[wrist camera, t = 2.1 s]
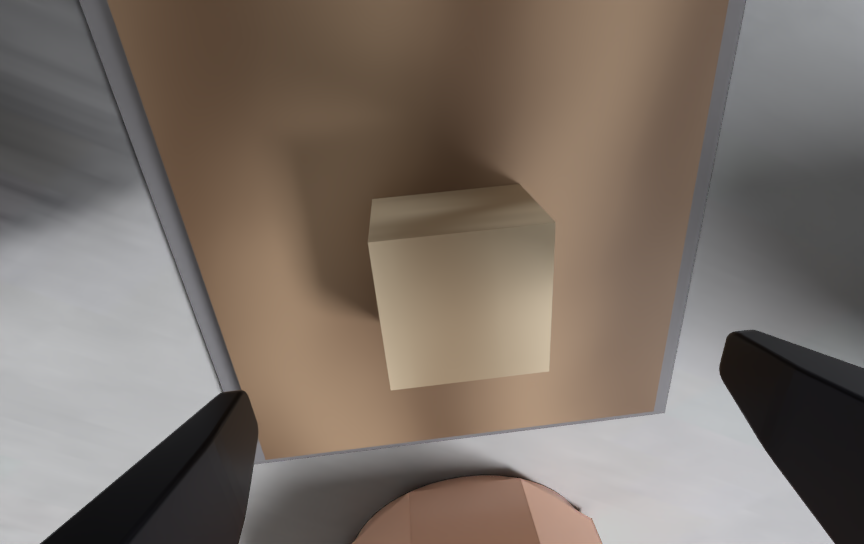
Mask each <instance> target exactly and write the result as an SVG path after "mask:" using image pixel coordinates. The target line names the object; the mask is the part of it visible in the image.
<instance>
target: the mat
mask: <svg viewBox="0 0 864 544" xmlns="http://www.w3.org/2000/svg"><path fill="white" fill-rule="evenodd" d="M79 2H80V5H81V7H82V10H83V13H84V15H85V18H86V21H87V23H88V26H89V29H90V32H91V34H92V37H93V40H94V42H95V45H96V48H97V51H98V53H99V56H100V59H101V61H102V64H103V67H104V70H105V72H106V75H107V78H108V80H109V83H110V86H111V89H112V91H113V94H114V97H115V99H116V102H117V105H118V107H119V110H120V113H121V116H122V118H123V121H124V124H125V126H126V129H127V132H128V135H129V137H130V140H131V143H132V145H133V148H134V151H135V154H136V156H137V159H138V162H139V164H140V167H141V170H142V173H143V175H144V178H145V181H146V183H147V186H148V189H149V191H150V194H151V197H152V200H153V202H154V205H155V208H156V210H157V213H158V216H159V219H160V221H161V224H162V227H163V229H164V232H165V235H166V238H167V240H168V243H169V246H170V248H171V251H172V254H173V257H174V259H175V262H176V265H177V267H178V270H179V273H180V276H181V278H182V281H183V284H184V286H185V289H186V292H187V294H188V297H189V300H190V303H191V305H192V308H193V311H194V313H195V316H196V319H197V322H198V324H199V327H200V330H201V332H202V335H203V338H204V341H205V343H206V346H207V349H208V351H209V354H210V357H211V360H212V362H213V365H214V368H215V370H216V373H217V376H218V378H219V381H220V384H221V387H222V389H223V392H227V391H235V390H241V387H240V384H239V381H238V378H237V376H236V373H235V370H234V367H233V364H232V361H231V358H230V355H229V352H228V350H227V347H226V344H225V341H224V338H223V335H222V332H221V329H220V326H219V323H218V321H217V318H216V315H215V312H214V309H213V306H212V303H211V300H210V297H209V294H208V292H207V289H206V286H205V283H204V280H203V277H202V274H201V271H200V268H199V265H198V263H197V260H196V257H195V254H194V251H193V248H192V245H191V242H190V239H189V237H188V234H187V231H186V228H185V225H184V222H183V219H182V216H181V213H180V210H179V208H178V205H177V202H176V199H175V196H174V193H173V190H172V187H171V184H170V181H169V179H168V176H167V173H166V170H165V167H164V164H163V161H162V158H161V155H160V153H159V150H158V147H157V144H156V141H155V138H154V135H153V132H152V129H151V126H150V124H149V121H148V118H147V115H146V112H145V109H144V106H143V103H142V100H141V97H140V95H139V92H138V89H137V86H136V83H135V80H134V77H133V74H132V71H131V69H130V66H129V63H128V60H127V57H126V54H125V51H124V48H123V45H122V42H121V40H120V37H119V34H118V31H117V28H116V25H115V22H114V19H113V16H112V13H111V11H110V8H109V5H108V2H107V0H79ZM745 3H746V0H729V3H728V8H727V14H726V19H725V25H724V30H723V36H722V41H721V46H720V52H719V57H718V63H717V68H716V74H715V79H714V85H713V90H712V96H711V101H710V107H709V112H708V118H707V123H706V128H705V134H704V139H703V145H702V150H701V156H700V161H699V167H698V172H697V178H696V183H695V189H694V194H693V199H692V205H691V210H690V216H689V221H688V227H687V232H686V238H685V243H684V249H683V254H682V260H681V265H680V271H679V276H678V281H677V287H676V292H675V298H674V303H673V309H672V314H671V320H670V325H669V331H668V336H667V342H666V347H665V352H664V358H663V363H662V369H661V374H660V380H659V385H658V391H657V396H656V402H655V407H654V411H653V412H645V413H637V414H629V415H621V416H613V417H605V418H597V419H589V420H581V421H573V422H565V423H557V424H549V425H541V426H533V427H525V428H517V429H509V430H501V431H493V432H485V433H477V434H469V435H461V436H453V437H445V438H437V439H429V440H421V441H413V442H405V443H397V444H389V445H381V446H373V447H365V448H357V449H349V450H341V451H333V452H325V453H317V454H309V455H301V456H294V457H286V458H278V459H270V460H265V457H264V454H263V451H262V448H261V445H260V442H259V439H258V442H257V448H256V454H255V460H254V464H261V463H269V462H277V461H285V460H293V459H301V458H309V457H317V456H325V455H333V454H341V453H349V452H357V451H365V450H373V449H381V448H389V447H397V446H405V445H413V444H421V443H429V442H437V441H445V440H453V439H461V438H469V437H477V436H485V435H493V434H501V433H509V432H517V431H525V430H533V429H540V428H548V427H556V426H564V425H572V424H580V423H588V422H596V421H604V420H612V419H620V418H628V417H636V416H644V415H652V414H660V413H665V408H666V403H667V398H668V393H669V388H670V383H671V378H672V373H673V368H674V363H675V358H676V353H677V348H678V342H679V337H680V332H681V327H682V322H683V317H684V312H685V307H686V302H687V297H688V292H689V287H690V282H691V277H692V272H693V267H694V261H695V256H696V251H697V246H698V241H699V236H700V231H701V226H702V221H703V216H704V211H705V206H706V201H707V196H708V191H709V186H710V180H711V175H712V170H713V165H714V160H715V155H716V150H717V145H718V140H719V135H720V130H721V125H722V120H723V115H724V110H725V105H726V100H727V94H728V89H729V84H730V79H731V74H732V69H733V64H734V59H735V54H736V49H737V44H738V39H739V34H740V29H741V24H742V19H743V13H744V8H745Z"/></svg>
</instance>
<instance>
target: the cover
mask: <svg viewBox="0 0 864 544" xmlns="http://www.w3.org/2000/svg"><path fill="white" fill-rule="evenodd" d="M107 2H108V5H109V8H110V11H111V13H112V16H113V19H114V22H115V25H116V28H117V31H118V34H119V37H120V40H121V42H122V45H123V48H124V51H125V54H126V57H127V60H128V63H129V66H130V69H131V71H132V74H133V77H134V80H135V83H136V86H137V89H138V92H139V95H140V97H141V100H142V103H143V106H144V109H145V112H146V115H147V118H148V121H149V124H150V126H151V129H152V132H153V135H154V138H155V141H156V144H157V147H158V150H159V153H160V155H161V158H162V161H163V164H164V167H165V170H166V173H167V176H168V179H169V181H170V184H171V187H172V190H173V193H174V196H175V199H176V202H177V205H178V208H179V210H180V213H181V216H182V219H183V222H184V225H185V228H186V231H187V234H188V237H189V239H190V242H191V245H192V248H193V251H194V254H195V257H196V260H197V263H198V265H199V268H200V271H201V274H202V277H203V280H204V283H205V286H206V289H207V292H208V294H209V297H210V300H211V303H212V306H213V309H214V312H215V315H216V318H217V321H218V323H219V326H220V329H221V332H222V335H223V338H224V341H225V344H226V347H227V350H228V352H229V355H230V358H231V361H232V364H233V367H234V370H235V373H236V376H237V378H238V381H239V384H240V387H241V390H243V391H245V392H246V393H247V394H248V396H249V399H250V402H251V405H252V408H253V411H254V414H255V417H256V420H257V423H258V430H259V434H258V439H259V442H260V445H261V448H262V451H263V454H264V457H265V460H270V459H278V458H286V457H294V456H301V455H309V454H317V453H325V452H333V451H341V450H349V449H357V448H365V447H373V446H381V445H389V444H397V443H405V442H413V441H421V440H429V439H437V438H445V437H453V436H461V435H469V434H477V433H485V432H493V431H501V430H509V429H517V428H525V427H533V426H541V425H549V424H557V423H565V422H573V421H581V420H589V419H597V418H605V417H613V416H621V415H629V414H637V413H645V412H653V411H654V407H655V402H656V396H657V391H658V385H659V380H660V374H661V369H662V363H663V358H664V352H665V347H666V342H667V336H668V331H669V325H670V320H671V314H672V309H673V303H674V298H675V292H676V287H677V281H678V276H679V271H680V265H681V260H682V254H683V249H684V243H685V238H686V232H687V227H688V221H689V216H690V210H691V205H692V199H693V194H694V189H695V183H696V178H697V172H698V167H699V161H700V156H701V150H702V145H703V139H704V134H705V128H706V123H707V118H708V112H709V107H710V101H711V96H712V90H713V85H714V79H715V74H716V68H717V63H718V57H719V52H720V46H721V41H722V36H723V30H724V25H725V19H726V14H727V8H728V3H729V0H107Z"/></svg>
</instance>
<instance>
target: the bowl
mask: <svg viewBox="0 0 864 544" xmlns="http://www.w3.org/2000/svg"><path fill="white" fill-rule="evenodd" d="M352 544H602V541H601V539H600V537H599V534H598V532H597V530H596V527H595V525H594V523H593V520H592V518H589V517H588V516H586V515H584V514H582V513H581V512H579V511H577V510H575V508H574V507H573V506H572V505H571V504H570V503H569V502H568V501H567V500H566V499H565V498H564V497H562V496H561V495H559V494H558V493H557V492H555V491H553V490H551V489H549V488H547V487H545V486H543V485H541V484H538V483H535V482H532V481H529V480H524V479H521V478H515V477H507V476H496V475H479V476H467V477H459V478H453V479H448V480H443V481H440V482H436V483H432V484H429V485H426V486H424V487H421V488H418V489H415V490H413V491H411V492H408V493H407V494H405V495H403V496H401V497H399V498H397V499H396V500H394V501H392V502H391V503H389V504H388V505H386V506H385V507H383V508H382V509H381V510H380V511H378V512H377V513H376V514H375V515H374V516H373V517H372V518H371V519H370V520H369V521H368V522H367V523H366V524H365V525H364V527H363V528H362V530H361V531H360V532H359V534H358V536H357V538H356V540H355V541H354V542H353V543H352Z"/></svg>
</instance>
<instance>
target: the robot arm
mask: <svg viewBox="0 0 864 544" xmlns="http://www.w3.org/2000/svg"><path fill="white" fill-rule="evenodd" d="M719 370H720V376H721V378H722V380H723V382H724V384H725V385H726V387H727V389H728V390H729V392H730V394H731V395H732V397H733V399H734V400H735V402H736V404H737V405H738V407H739V408H740V410H741V412H742V413H743V415H744V417H745V418H746V420H747V422H748V423H749V425H750V426H751V428H752V430H753V431H754V433H755V435H756V436H757V438H758V440H759V441H760V443H761V444H762V446H763V447H764V449H765V450H766V452H767V453H768V455H769V456H770V457H771V459H772V460H773V462H774V463H775V464H776V466H777V467H778V468H779V470H780V471H781V472H782V474H783V475H784V476H785V478H786V479H787V480H788V482H789V483H790V484H791V486H792V487H793V488H794V490H795V491H796V492H797V494H798V495H799V496H800V498H801V499H802V500H803V502H804V503H805V504H806V506H807V507H808V509H809V510H810V511H811V513H812V514H813V515H814V517H815V518H816V519H817V521H818V522H819V523H820V525H821V526H822V527H823V529H824V530H825V531H826V533H827V534H828V535H829V537H830V538H831V539H832V541H833V542H834V543H835V544H864V368H861V367H858V366H856V365H853V364H850V363H847V362H844V361H841V360H839V359H836V358H833V357H830V356H827V355H824V354H822V353H819V352H816V351H813V350H810V349H808V348H805V347H802V346H799V345H796V344H793V343H791V342H788V341H785V340H782V339H779V338H776V337H774V336H771V335H768V334H765V333H762V332H759V331H756V330H744V331H735V332H732V333H730V334H729V335H728V336H727V339H726V342H725V346H724V350H723V354H722V358H721V362H720V367H719ZM258 434H259V430H258V423H257V420H256V417H255V414H254V411H253V408H252V405H251V402H250V399H249V396H248V394H247V393H246V392H245V391H243V390H235V391H227V392H222V393H220V394H219V395H217V396H216V397H215V398H214V399H212V400H211V401H210V402H209V403H208V404H206V405H205V406H204V407H203V408H202V409H200V410H199V411H198V412H197V413H196V414H194V415H193V416H192V417H191V418H190V419H188V420H187V421H186V422H185V423H184V424H182V425H181V426H180V427H179V428H178V429H177V430H175V431H174V432H173V433H172V434H171V435H169V436H168V437H167V438H166V439H165V440H163V441H162V442H161V443H160V444H159V445H157V446H156V447H155V448H154V449H153V450H151V451H150V452H149V453H148V454H147V455H145V456H144V457H143V458H142V459H141V460H139V461H138V462H137V463H136V464H135V465H134V466H132V467H131V468H130V469H129V470H128V471H126V472H125V473H124V474H123V475H122V476H120V477H119V478H118V479H117V480H116V481H114V482H113V483H112V484H111V485H110V486H108V487H107V488H106V489H105V490H104V491H102V492H101V493H100V494H99V495H98V496H96V497H95V498H94V499H93V500H92V501H91V502H89V503H88V504H87V505H86V506H85V507H83V508H82V509H81V510H80V511H79V512H77V513H76V514H75V515H74V516H73V517H71V518H70V519H69V520H68V521H67V522H65V523H64V524H63V525H62V526H61V527H59V528H58V529H57V530H56V531H55V532H53V533H52V534H51V535H50V536H49V537H47V538H46V539H45V540H44V541H43V542H41V543H40V544H238V543H239V539H240V535H241V532H242V528H243V524H244V520H245V515H246V509H247V504H248V498H249V491H250V485H251V479H252V473H253V466H254V460H255V454H256V448H257V442H258Z"/></svg>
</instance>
